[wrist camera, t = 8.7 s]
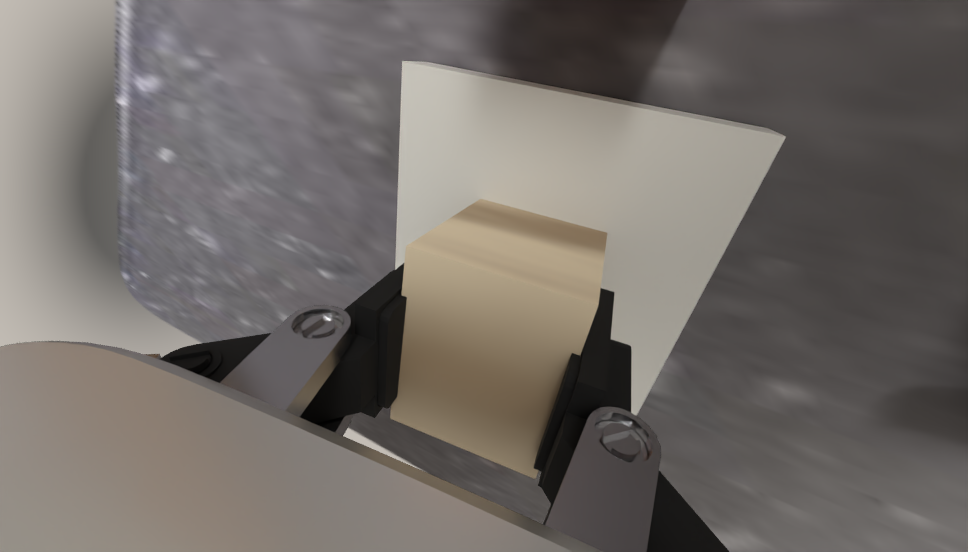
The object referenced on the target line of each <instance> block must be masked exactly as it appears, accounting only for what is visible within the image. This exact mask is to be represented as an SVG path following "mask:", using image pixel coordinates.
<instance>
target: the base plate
mask: <svg viewBox="0 0 968 552" xmlns="http://www.w3.org/2000/svg"><path fill="white" fill-rule="evenodd" d="M785 138H786V136H784V135H781V134H779V133H777V132H775V131H773V130H771V129H769V128H764V127H759V126H754V125H749V124H744V123H739V122H733V121H728V120H723V119H718V118H713V117H708V116H703V115H697V114H692V113H687V112H682V111H677V110H672V109H667V108H661V107H656V106H651V105H646V104H641V103H636V102H631V101H625V100H620V99H615V98H610V97H605V96H600V95H595V94H589V93H584V92H579V91H574V90H569V89H564V88H559V87H553V86H548V85H543V84H538V83H533V82H528V81H523V80H517V79H512V78H507V77H502V76H497V75H492V74H487V73H481V72H476V71H471V70H466V69H461V68H456V67H451V66H445V65H440V64H435V63H430V62H417V61H402V85H401V115H400V144H399V173H398V203H397V232H396V262H395V270H396V269H397V268H398V267H399V266H401V265H402V264H403V263H404V262H405V251H406V246H407V245H408V244H410V243H412V242H413V241H415V240H416V239H418V238H419V237H421V236H423V235H424V234H426V233H427V232H429V231H430V230H432V229H434V228H435V227H437V226H438V225H440V224H441V223H443V222H445V221H446V220H448V219H449V218H451V217H453V216H454V215H456V214H457V213H459V212H460V211H462V210H464V209H465V208H467V207H468V206H470V205H471V204H473V203H475V202H476V201H478V200H479V199H484V200H487V201H491V202H495V203H498V204H502V205H506V206H510V207H513V208H517V209H521V210H524V211H528V212H532V213H536V214H539V215H543V216H547V217H551V218H554V219H558V220H562V221H565V222H569V223H573V224H577V225H580V226H584V227H588V228H591V229H595V230H599V231H603V232H606V233H607V240H606V249H605V257H604V265H603V273H602V281H601V288H602V289H606V290H609V291H613V292H614V305H613V317H612V329H611V339H612V340H615V341H618V342H621V343H624V344H628V345H630V346H631V350H632V359H631V413H633V414H634V415H636V416H637V414H638V412H639V410H640V408H641V407H642V405H643V403H644V401H645V399H646V397H647V395H648V393H649V392H650V390H651V388H652V386H653V384H654V382H655V380H656V379H657V377H658V375H659V373H660V371H661V369H662V367H663V366H664V364H665V362H666V360H667V358H668V356H669V354H670V352H671V351H672V349H673V347H674V345H675V343H676V341H677V339H678V338H679V336H680V334H681V332H682V330H683V328H684V326H685V324H686V323H687V321H688V319H689V317H690V315H691V313H692V311H693V310H694V308H695V306H696V304H697V302H698V300H699V298H700V297H701V295H702V293H703V291H704V289H705V287H706V285H707V283H708V282H709V280H710V278H711V276H712V274H713V272H714V270H715V269H716V267H717V265H718V263H719V261H720V259H721V257H722V256H723V254H724V252H725V250H726V248H727V246H728V244H729V242H730V241H731V239H732V237H733V235H734V233H735V231H736V229H737V228H738V226H739V224H740V222H741V220H742V218H743V216H744V215H745V213H746V211H747V209H748V207H749V205H750V203H751V201H752V200H753V198H754V196H755V194H756V192H757V190H758V188H759V187H760V185H761V183H762V181H763V179H764V177H765V175H766V174H767V172H768V170H769V168H770V166H771V164H772V162H773V160H774V159H775V157H776V155H777V153H778V151H779V149H780V147H781V146H782V144H783V142H784V140H785Z"/></svg>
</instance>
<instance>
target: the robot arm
mask: <svg viewBox="0 0 968 552" xmlns="http://www.w3.org/2000/svg"><path fill="white" fill-rule="evenodd" d="M403 273H404V263H403V264H402V265H401V266H399V267H398V268H397V269H396V270H394V271H392V272H390V273H389V274H388V275H386V276H385V277H384V278H383V279H382V280H380V281H379V282H378V283H377V284H375V285H374V286H373V287H372V288H370V289H369V290H368V291H367V292H366V293H364V294H363V295H362V296H361V297H359V298H358V299H357V300H356V301H354V302H353V303H352V304H351V305H350V306H348V307H347V308H346V309H345V310H343V309H341V308H338V307H335V306H330V305H314V306H309V307H305V308H303V309H300V310H298V311H296V312H294V313H293V314H292V315H290V316H289V317H288V318H287V319H286V320H285V321H284V322H283V323H282V324H281V325H280V326H279V327H277V328H276V329H275V330H274V331H273V332H272V333H269V334H262V335H255V336H249V337H242V338H236V339H229V340H222V341H216V342H209V343H202V344H196V345H191V346H187V347H183V348H180V349H178V350H175V351H173V352H170V353H169V354H167V355H165V356H164V357H162V358H161V356H160V354H140V353H137V352H133V351H129V350H125V349H122V348H117V347H111V346H105V345H98V344H93V343H86V342H67V341H37V342H36V341H35V342H24V343H16V344H10V345H5V346H1V347H0V552H729V551H728V550H727V548H726V547H725V546H724V545H723V544H722V543H721V542H720V540H719V539H718V538H717V537H716V536H715V535H714V533H713V532H712V531H711V530H710V529H709V528H708V527H707V525H706V524H705V523H704V522H703V521H702V520H701V518H700V517H699V516H698V515H697V514H696V513H695V512H694V510H693V509H692V508H691V507H690V506H689V505H688V503H687V502H686V501H685V500H684V499H683V498H682V496H681V495H680V494H679V493H678V492H677V491H676V490H675V488H674V487H673V486H672V485H671V484H670V483H669V481H668V480H667V479H666V478H665V477H664V476H663V475H662V473H661V472H660V471H659V466H660V459H661V446H660V443H659V441H658V438H657V436H656V435H655V433H654V432H653V431H652V429H651V428H650V426H648V425H647V424H646V423H645V422H644V421H643V420H642V419H641V418H639V417H638V416H636V415H634V414H633V413H631V359H632V350H631V346H630V345H628V344H624V343H621V342H618V341H615V340H612V339H611V329H612V317H613V305H614V292H613V291H609V290H606V289H602V288H601V289H600V297H599V305H598V308H597V311H596V314H595V316H594V319H593V322H592V325H591V327H590V330H589V333H588V336H587V338H586V341H585V344H584V347H583V349H582V352H581V355H577V354H574V353H572V354H571V356H570V359H569V362H568V365H567V368H566V371H565V374H564V377H563V380H562V382H561V385H560V388H559V391H558V394H557V397H556V400H555V403H554V406H553V409H552V411H551V414H550V417H549V420H548V423H547V426H546V429H545V432H544V435H543V437H542V440H541V443H540V446H539V449H538V452H537V456H536V459H535V463H534V469H536V470H539V471H541V476H540V480H539V484H538V486H540V487H541V488H542V489H543V491H544V493H545V494H546V496H547V498H548V499H549V501H550V503H551V505H550V508H549V510H548V513H547V515H546V518H545V520H544V523H543V524H541V523H539V522H536V521H534V520H532V519H530V518H527V517H525V516H523V515H521V514H518V513H516V512H514V511H512V510H509V509H507V508H505V507H503V506H500V505H498V504H496V503H494V502H491V501H489V500H487V499H485V498H482V497H480V496H478V495H476V494H473V493H471V492H469V491H467V490H464V489H462V488H460V487H458V486H455V485H453V484H451V483H449V482H446V481H444V480H442V479H440V478H437V477H435V476H433V475H430V474H428V473H426V472H424V471H421V470H419V469H417V468H414V467H412V466H410V465H408V464H405V463H403V462H401V461H398V460H396V459H394V458H392V457H389V456H387V455H385V454H382V453H380V452H378V451H376V450H373V449H371V448H369V447H366V446H364V445H362V444H359V443H357V442H355V441H353V440H350V439H348V438H346V437H343V435H344V433H345V431H346V430H347V428H348V426H349V424H350V423H351V420H352V417H353V414H356V413H360V412H362V413H364V414H367V415H369V416H372V417H374V418H375V417H376V416H377V414H378V413H379V412H380V410H381V409H382V408H383V407H384V408H389V407H390V406H391V405H392V403H393V402H394V401H395V399H396V398H397V395H398V385H399V374H400V364H401V354H402V343H403V333H404V323H405V312H406V302H407V297H405V296H402V295H401V294H402V284H403Z"/></svg>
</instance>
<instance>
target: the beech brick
mask: <svg viewBox="0 0 968 552" xmlns="http://www.w3.org/2000/svg"><path fill="white" fill-rule="evenodd" d="M606 240H607V233H606V232H603V231H599V230H595V229H591V228H588V227H584V226H580V225H577V224H573V223H569V222H565V221H562V220H558V219H554V218H551V217H547V216H543V215H539V214H536V213H532V212H528V211H524V210H521V209H517V208H513V207H510V206H506V205H502V204H498V203H495V202H491V201H487V200H484V199H479V200H478V201H476V202H475V203H473V204H471V205H470V206H468V207H467V208H465V209H464V210H462V211H460V212H459V213H457V214H456V215H454V216H453V217H451V218H449V219H448V220H446V221H445V222H443V223H441V224H440V225H438V226H437V227H435V228H434V229H432V230H430V231H429V232H427V233H426V234H424V235H423V236H421V237H419V238H418V239H416V240H415V241H413V242H412V243H410V244H408V245H407V246H406V251H405V262H404V273H403V284H402V294H401V295H402V296H405V297H407V302H406V312H405V323H404V333H403V343H402V354H401V364H400V374H399V385H398V395H397V398H396V399H395V401H394V402H393V403H392V405H391V414H390V419H392V420H395V421H397V422H400V423H402V424H404V425H407V426H409V427H412V428H414V429H416V430H419V431H421V432H424V433H426V434H428V435H431V436H433V437H436V438H438V439H440V440H443V441H445V442H447V443H450V444H452V445H455V446H457V447H459V448H462V449H464V450H467V451H469V452H471V453H474V454H476V455H479V456H481V457H483V458H486V459H488V460H491V461H493V462H495V463H498V464H500V465H502V466H505V467H507V468H510V469H512V470H514V471H517V472H519V473H522V474H524V475H526V476H529V477H531V478H534V479H536V476H537V473H538V471H539V470H536V469H534V463H535V459H536V456H537V452H538V449H539V446H540V443H541V440H542V437H543V435H544V432H545V429H546V426H547V423H548V420H549V417H550V414H551V411H552V409H553V406H554V403H555V400H556V397H557V394H558V391H559V388H560V385H561V382H562V380H563V377H564V374H565V371H566V368H567V365H568V362H569V359H570V356H571V354H572V353H574V354H577V355H581V352H582V349H583V347H584V344H585V341H586V338H587V336H588V333H589V330H590V327H591V325H592V322H593V319H594V316H595V314H596V311H597V308H598V305H599V297H600V289H601V281H602V273H603V265H604V257H605V249H606Z"/></svg>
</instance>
